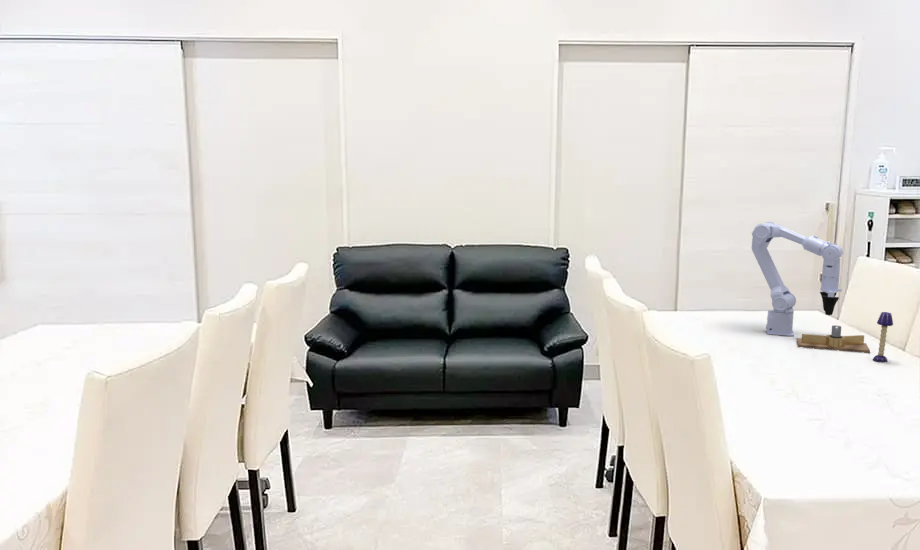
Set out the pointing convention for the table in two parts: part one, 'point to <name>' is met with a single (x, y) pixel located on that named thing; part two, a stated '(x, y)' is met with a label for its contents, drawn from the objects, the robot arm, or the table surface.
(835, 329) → the pin
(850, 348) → the board
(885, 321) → the toy lamp
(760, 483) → the table surface
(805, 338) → the hinge
